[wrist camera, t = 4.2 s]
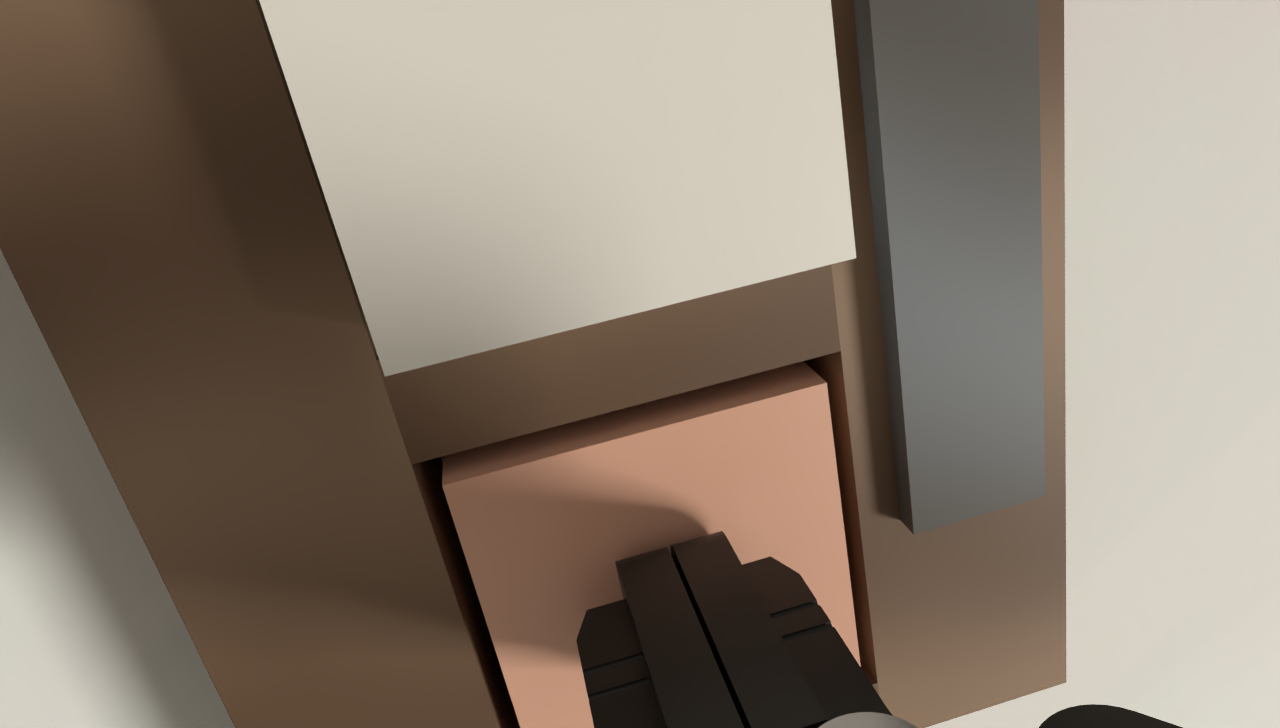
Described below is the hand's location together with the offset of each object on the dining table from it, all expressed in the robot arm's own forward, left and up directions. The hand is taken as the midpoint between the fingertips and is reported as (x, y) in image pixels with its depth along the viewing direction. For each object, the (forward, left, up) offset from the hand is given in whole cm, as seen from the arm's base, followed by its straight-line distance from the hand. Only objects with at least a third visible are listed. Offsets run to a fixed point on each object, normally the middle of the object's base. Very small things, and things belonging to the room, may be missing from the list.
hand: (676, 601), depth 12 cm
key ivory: (-7, 0, -1) cm, 7 cm away
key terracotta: (0, 0, -2) cm, 2 cm away
